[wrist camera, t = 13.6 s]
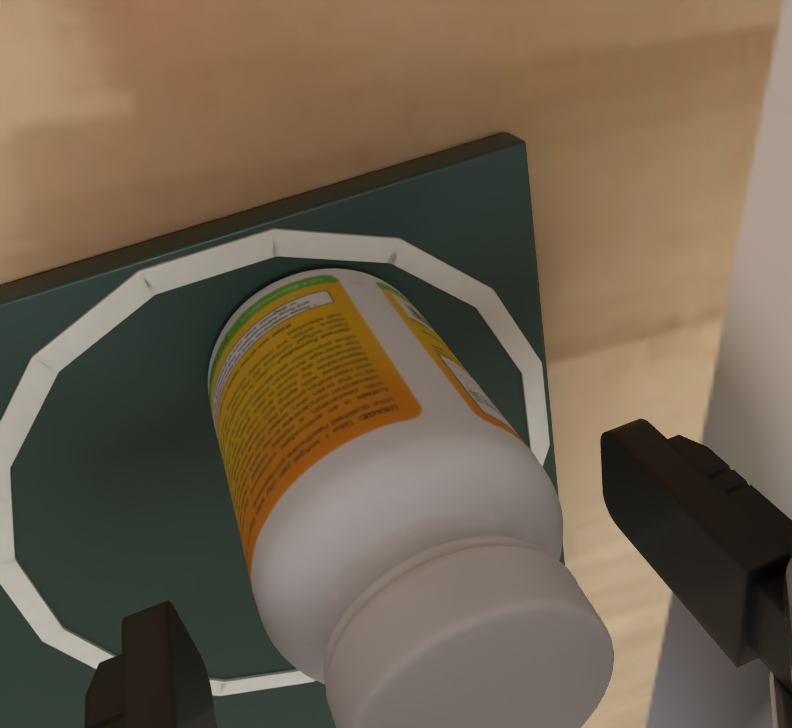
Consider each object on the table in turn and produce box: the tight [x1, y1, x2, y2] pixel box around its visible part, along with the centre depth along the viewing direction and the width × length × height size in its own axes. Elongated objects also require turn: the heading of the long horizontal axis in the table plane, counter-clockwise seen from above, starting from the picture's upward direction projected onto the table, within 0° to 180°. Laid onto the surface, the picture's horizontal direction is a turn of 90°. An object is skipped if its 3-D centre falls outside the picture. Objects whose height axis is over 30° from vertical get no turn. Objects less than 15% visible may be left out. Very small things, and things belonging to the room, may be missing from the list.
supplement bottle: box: [208, 268, 614, 728], centre depth 14 cm, size 5×5×10 cm
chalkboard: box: [0, 132, 565, 728], centre depth 21 cm, size 19×19×1 cm
